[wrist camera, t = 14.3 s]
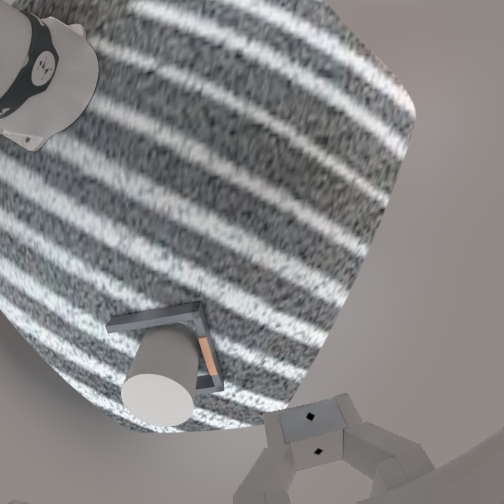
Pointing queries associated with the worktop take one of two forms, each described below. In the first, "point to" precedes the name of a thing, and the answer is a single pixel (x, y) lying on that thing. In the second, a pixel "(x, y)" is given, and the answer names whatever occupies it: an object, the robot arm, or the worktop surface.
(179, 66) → the worktop surface
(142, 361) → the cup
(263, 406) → the worktop surface
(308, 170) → the worktop surface
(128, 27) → the worktop surface
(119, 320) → the bracket
